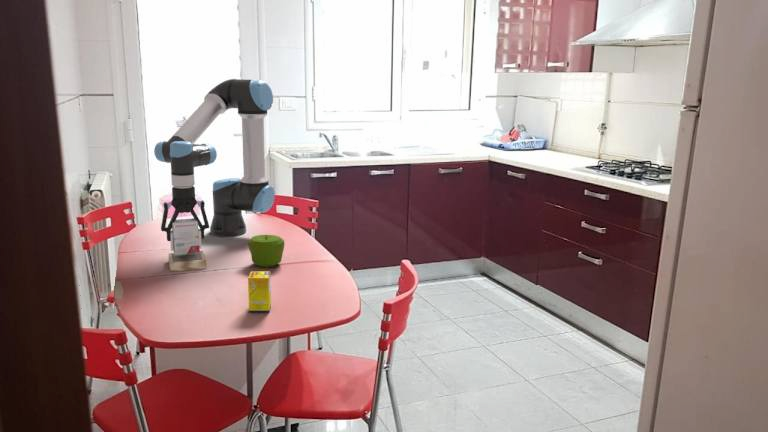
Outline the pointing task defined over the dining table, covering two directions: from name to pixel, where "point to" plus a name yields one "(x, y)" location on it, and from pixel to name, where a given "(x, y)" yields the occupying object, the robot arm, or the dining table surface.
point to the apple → (266, 250)
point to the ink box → (185, 236)
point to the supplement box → (259, 291)
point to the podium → (187, 261)
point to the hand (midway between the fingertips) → (186, 248)
